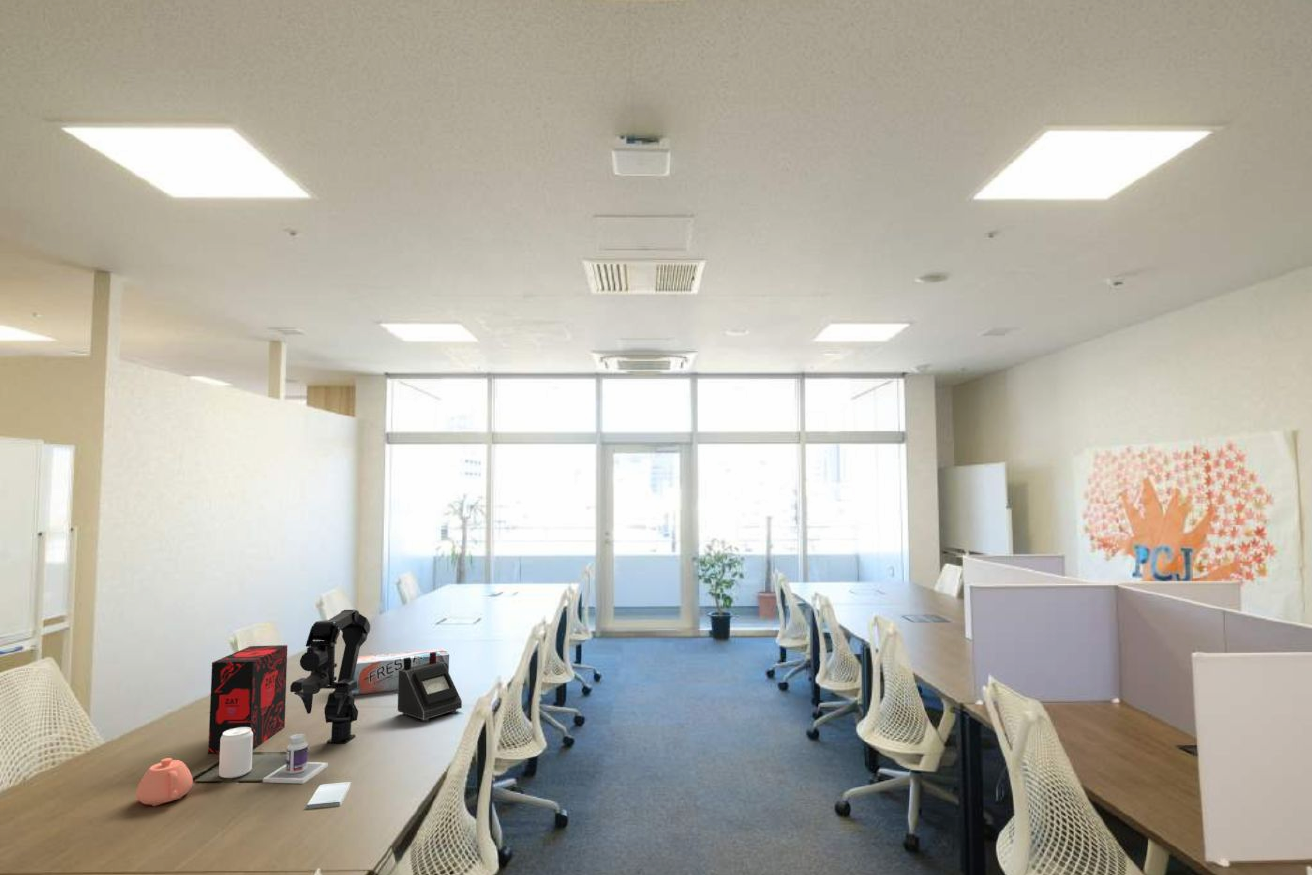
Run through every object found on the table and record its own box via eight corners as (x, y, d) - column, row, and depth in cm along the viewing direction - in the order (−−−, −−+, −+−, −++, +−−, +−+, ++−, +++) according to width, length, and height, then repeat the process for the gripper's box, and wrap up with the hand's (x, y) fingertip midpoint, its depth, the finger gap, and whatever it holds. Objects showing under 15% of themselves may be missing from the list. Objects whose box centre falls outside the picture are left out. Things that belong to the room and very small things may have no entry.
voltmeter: (423, 724, 238) (425, 665, 239) (397, 715, 248) (398, 659, 249) (462, 712, 250) (462, 656, 252) (435, 703, 260) (436, 650, 262)
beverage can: (214, 781, 191) (216, 737, 192) (224, 769, 199) (226, 727, 200) (246, 777, 194) (248, 734, 195) (255, 766, 201) (256, 725, 202)
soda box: (344, 697, 270) (345, 664, 271) (343, 688, 282) (344, 657, 283) (449, 684, 288) (450, 653, 289) (444, 676, 300) (445, 646, 301)
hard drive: (340, 801, 176) (350, 781, 188) (306, 804, 174) (318, 784, 186) (340, 808, 176) (350, 787, 188) (305, 811, 174) (318, 790, 186)
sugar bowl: (183, 784, 189) (185, 747, 190) (201, 798, 180) (202, 759, 181) (129, 800, 180) (131, 760, 181) (145, 816, 171) (147, 774, 172)
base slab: (289, 765, 202) (289, 761, 202) (327, 766, 201) (328, 762, 201) (262, 782, 190) (263, 778, 190) (303, 783, 189) (303, 779, 189)
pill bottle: (310, 766, 199) (311, 732, 199) (301, 773, 193) (302, 738, 194) (291, 766, 199) (292, 732, 199) (282, 774, 193) (283, 739, 194)
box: (249, 752, 213) (252, 661, 215) (208, 754, 212) (212, 662, 214) (284, 727, 236) (287, 645, 238) (247, 728, 235) (250, 646, 237)
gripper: (279, 668, 203) (277, 722, 202) (338, 669, 202) (337, 723, 201) (302, 659, 215) (300, 709, 213) (358, 660, 213) (357, 711, 212)
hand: (323, 713), depth 210 cm, fingers open, 9 cm apart
